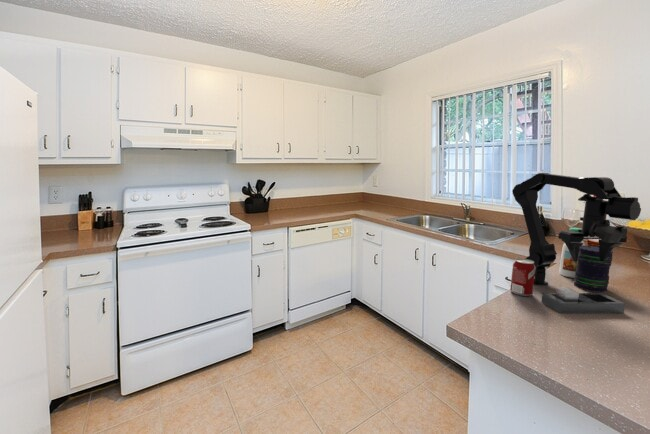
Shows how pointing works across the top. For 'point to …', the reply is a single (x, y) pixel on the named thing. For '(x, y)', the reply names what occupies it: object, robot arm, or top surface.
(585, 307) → the tray
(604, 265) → the storage jar
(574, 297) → the grey foam cube
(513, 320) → the top surface
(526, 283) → the soda can
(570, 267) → the milk bottle
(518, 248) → the top surface
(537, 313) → the top surface
